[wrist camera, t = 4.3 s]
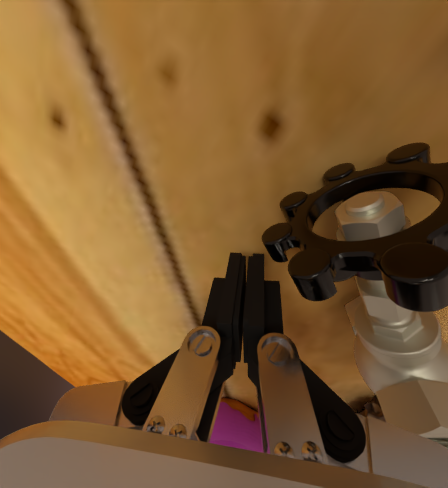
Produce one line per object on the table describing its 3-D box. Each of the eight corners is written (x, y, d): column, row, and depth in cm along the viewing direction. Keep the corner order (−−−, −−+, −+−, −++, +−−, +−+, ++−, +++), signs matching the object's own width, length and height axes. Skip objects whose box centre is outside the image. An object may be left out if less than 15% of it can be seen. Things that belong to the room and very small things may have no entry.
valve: (442, 316, 13) (431, 122, 8) (559, 469, 8) (782, 205, 3) (329, 333, 16) (261, 198, 10) (361, 457, 11) (259, 315, 5)
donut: (283, 419, 28) (286, 468, 25) (226, 424, 33) (222, 466, 30) (231, 387, 24) (225, 440, 21) (176, 398, 29) (164, 442, 26)
